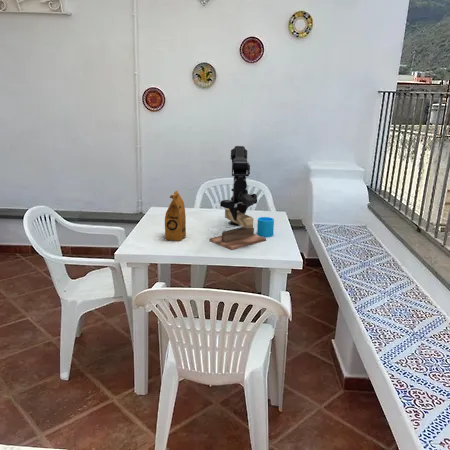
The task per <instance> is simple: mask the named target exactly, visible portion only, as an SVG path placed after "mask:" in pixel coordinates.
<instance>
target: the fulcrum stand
mask: <svg viewBox="0 0 450 450" xmlns="http://www.w3.org/2000/svg"><path fill="white" fill-rule="evenodd" d="M265 241H267V237H261V236H258V235H257V234H255V227H253V228H245V227H243V226H240V227H237V228H233V229H228V230H223V231H222V232H221V235H219V236H214V237H213V236H212V237H211V238H209V242H211V243H214V244H217V245H218V246H221V247H224V248H226V249H228V250H232V251H233V250H236V249H240V248H244V247H247V246H251V245H255V244H258V243H262V242H265Z"/></svg>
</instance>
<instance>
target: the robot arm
mask: <svg viewBox="0 0 450 450" xmlns="http://www.w3.org/2000/svg"><path fill="white" fill-rule="evenodd" d="M230 161H231V177H233V188H231V192H233V193H232V196H231V198H230V199H223V200H220V203H219V207H221V208H224V209H229V210H230V212H231V214H232V216H233V219H234V220H235V221H236V219H237V211H239V212H241V213H243V214H246V213H247V210H248V209H249V207H251V206H253V205H255V204H258V195H257V193H252V194H249V191H248V189H247V187H248V184H247V177H250V176H249V175H251V165H250V163H249V162H248V150H247V149H246V147H245V146H244V145H236V146H234V148H232V149H231V150H230ZM228 224H230V225H233V226H235V227H237V226H240V225H239V224H237V223H235V222H233V221H231V220H230V221H228Z"/></svg>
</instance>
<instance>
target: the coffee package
mask: <svg viewBox="0 0 450 450" xmlns="http://www.w3.org/2000/svg"><path fill="white" fill-rule="evenodd" d="M178 191H179V190H175V191H174V193H173V194H172V195H170V196H169V199H172V200H171V201H170V203H169V206H168V208H167V210H166V211H165V216H164V239H165V240H166V241H171V242H172V241H175V242H182V241H183V239H184V238H186V235H187V228H186V227H187V226H186V223H187V222H186V221H187V220H186V219H187V217H186V208H185V203H184V201H183V198H182V196H181V195H180V193H179V192H178Z"/></svg>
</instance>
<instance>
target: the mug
mask: <svg viewBox="0 0 450 450" xmlns="http://www.w3.org/2000/svg"><path fill="white" fill-rule="evenodd" d="M256 225H257V227H256V228H257V229H256V231H257V232H256V235H258V236H261V237H264V238H271V237H274V230H275V229H274V227H275V226H274V225H275V219H274V218H273V217H270V216H259V217H257V224H256Z"/></svg>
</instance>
